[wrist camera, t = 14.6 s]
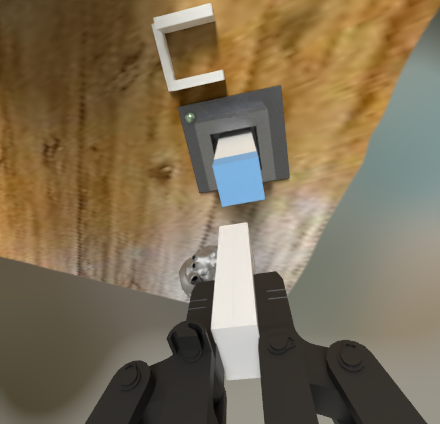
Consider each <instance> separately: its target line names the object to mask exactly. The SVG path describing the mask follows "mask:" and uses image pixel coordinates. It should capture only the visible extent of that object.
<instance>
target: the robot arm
mask: <svg viewBox="0 0 440 424" xmlns="http://www.w3.org/2000/svg"><path fill="white" fill-rule="evenodd" d="M167 341H168V343H169V346H170V348H171V350H172V352H173V355H172V356H170V357H169V358H167V359H165V360H163V361H161V362H159V363H156V364H154V365H151V366H148V365H147V363H145V362H143V361H132V362H130V363H127V364H126V365H124V366H123V367H122V368H120V369H119V370H118V371H117V373H116V374H115V375H114V376H113V378H112V380H111V382H110V383H109V385H108V386H107V388H106V390H105V391H104V393H103V395H102V397H101V398H100V400H99V401H98V403H97V405H96V406H95V408H94V410H93V412H92V413H91V415H90V416H89V418H88V420H87V421H86V423H85V424H226V404H227V397H226V391H225V388H224V374H225V377H226V380H238V379H250V378H261V387H262V399H263V410H264V422H265V424H319V423H318V419H317V415H316V414H320V415H323V416H327V417H330V418H332V420H333V422H334V424H427V423H426V422H425V421H424V419H423V418H422V417H421V415H420V414H419V413H418V411H417V410H416V409H415V408H414V406H413V405H412V404H411V402H410V401H409V400H408V399H407V397H406V396H405V395H404V394H403V392H402V391H401V390H400V388H399V387H398V386H397V385H396V383H395V382H394V381H393V380H392V378H391V377H390V376H389V374H388V373H387V372H386V371H385V369H384V368H383V367H382V366H381V364H380V363H379V362H378V360H377V359H376V358H375V357H374V355H373V354H372V353H371V352H370V351H369V350H368V349H367V348H366V347H365V346H363V345H361V344H359V343H357V342H355V341H350V340H341V341H337V342H335V343H333V344H332V345H331V346H330V347H329V348H328V347H323V346H318V345H314V344H311V343H309V342H307V341H305V340H304V339H302V338H301V337H300V336H299V335H298V333H297V332H296V330H295V328H294V325H293V320H292V315H291V311H290V307H289V303H288V299H287V294H286V290H285V286H284V282H283V278H282V277H281V276H280V275H279V274H278V273H277V272H268V273H260V274H256V270H255V262H254V256H253V251H252V245H251V240H250V234H249V228H248V223H247V222H246V223H240V224H233V225H226V226H220V227H219V239H218V250H217V262H216V274H215V280H211V281H204V282H198V283H197V284H196V285H195V287H194V288H193V290H192V292H191V298H190V303H189V310H188V314H187V320H186V321H184V322H181V323H179V324H178V325H176V326H175V327H174V328H173V329H172V330H171V331H170V333H169V334H168V337H167Z"/></svg>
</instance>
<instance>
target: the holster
mask: <svg viewBox="0 0 440 424" xmlns="http://www.w3.org/2000/svg"><path fill="white" fill-rule="evenodd" d="M153 19H154V23H155V24H151V25H152V29H153V33H154V37H155V41H156V45H157V48H158V52H159V56H160V60H161V64H162V68H163V71H164V75H165V79H166V83H167V87H168V91H176V90H180V89H185V88H189V87H194V86H198V85H203V84H208V83H212V82H217V81H221V80H225V74H224V70H219V71H215V72H210V73H206V74H202V75H197V76H193V77H188V78H184V79H179V80H176V78H175V74H174V69H173V65H172V61H171V57H170V53H169V49H168V45H167V41H166V37H165V34H166V33H170V32H174V31H178V30H182V29H186V28H190V27H194V26H198V25H202V24H206V23H210V22H215V17H214V11H213V8H212V5H211V3H209V4H205V5H201V6H197V7H194V8H190V9H186V10H182V11H178V12H174V13H170V14H166V15H163V16H159V17H155V18H153Z"/></svg>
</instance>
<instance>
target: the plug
mask: <svg viewBox="0 0 440 424" xmlns="http://www.w3.org/2000/svg"><path fill="white" fill-rule="evenodd" d="M212 167H213V171H214V175H215V179H216V183H217V187H218V192H219V196H220V200H221V204H222V207H225V206H230V205H236V204H241V203H247V202H253V201H258V200H264V199H265V195H264V189H263V183H262V177H261V171H260V164H259V158H258V154H257V151H256V147H255V143H254V140H253V136H252V133H251V129H250V127H248V128H243V129H239V130H234V131H230V132H225V133H220V135H219V139H218V144H217V148H216V153H215V157H214V161H213V166H212Z"/></svg>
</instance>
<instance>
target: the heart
mask: <svg viewBox="0 0 440 424" xmlns="http://www.w3.org/2000/svg"><path fill="white" fill-rule="evenodd" d="M217 250H218V246H207V247H205V248H203V249H201V250H198V251H197V252H196V253H195V254H193V255H192V257H191V258H190V259H188V260H186V261H185V263H184V264H183V265H182V267H181V269H180V271H179V275H180V281H181V286H182V289H183V290H184V292H185V293H186V294H187V295H188V296H189V297H191V292H192V290H193V288H194V287H195V285H196V284H197V283H198V282H204V281H211V280H215V274H216V262H217Z"/></svg>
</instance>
